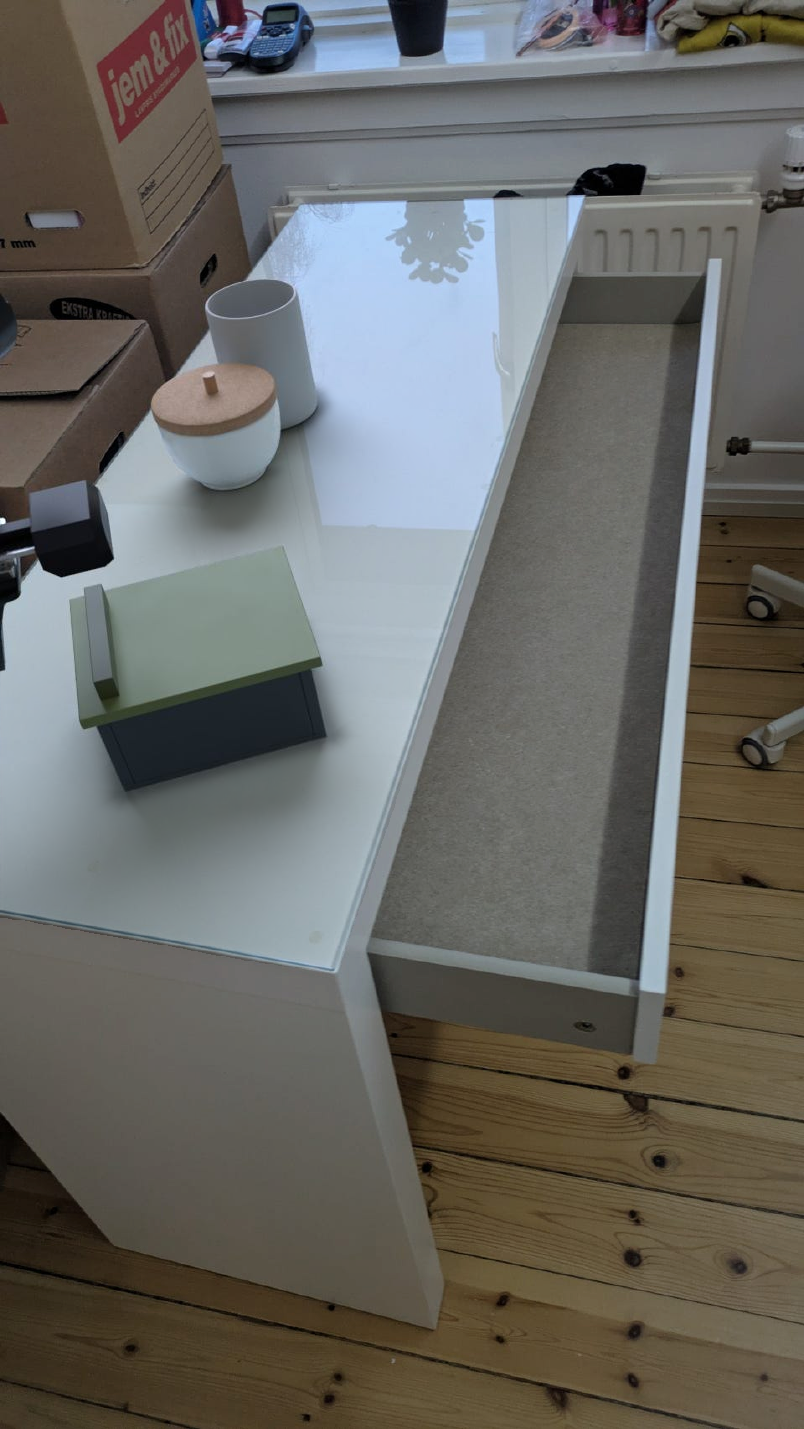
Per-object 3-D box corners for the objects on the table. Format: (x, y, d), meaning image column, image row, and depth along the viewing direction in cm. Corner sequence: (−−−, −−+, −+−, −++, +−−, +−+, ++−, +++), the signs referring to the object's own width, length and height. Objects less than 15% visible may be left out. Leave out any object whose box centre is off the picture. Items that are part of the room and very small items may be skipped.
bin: (124, 792, 71) (94, 721, 66) (111, 679, 79) (83, 610, 75) (327, 736, 73) (310, 664, 68) (293, 631, 81) (276, 560, 76)
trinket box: (301, 437, 101) (281, 340, 94) (280, 503, 93) (257, 403, 87) (189, 442, 102) (163, 348, 96) (160, 508, 95) (129, 410, 88)
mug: (316, 427, 102) (295, 313, 94) (226, 437, 102) (198, 325, 95) (320, 366, 110) (301, 257, 103) (237, 376, 111) (212, 268, 103)
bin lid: (83, 730, 66) (70, 703, 64) (72, 608, 75) (61, 581, 73) (322, 666, 68) (316, 638, 66) (284, 554, 77) (278, 527, 75)
